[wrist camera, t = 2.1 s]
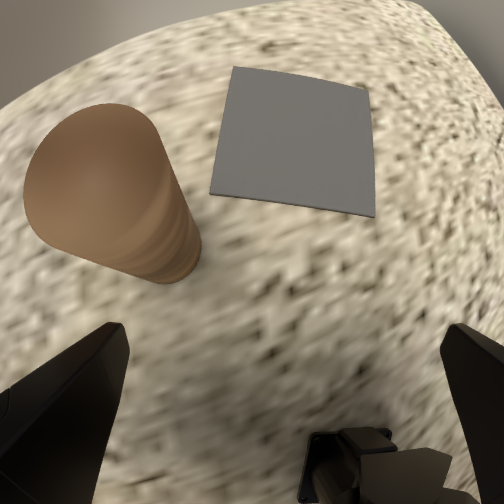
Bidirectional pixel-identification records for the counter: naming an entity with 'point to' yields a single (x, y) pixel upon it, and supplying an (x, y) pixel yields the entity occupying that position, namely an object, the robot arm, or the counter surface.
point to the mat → (296, 143)
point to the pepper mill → (112, 195)
